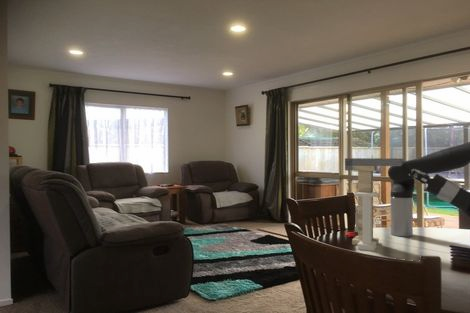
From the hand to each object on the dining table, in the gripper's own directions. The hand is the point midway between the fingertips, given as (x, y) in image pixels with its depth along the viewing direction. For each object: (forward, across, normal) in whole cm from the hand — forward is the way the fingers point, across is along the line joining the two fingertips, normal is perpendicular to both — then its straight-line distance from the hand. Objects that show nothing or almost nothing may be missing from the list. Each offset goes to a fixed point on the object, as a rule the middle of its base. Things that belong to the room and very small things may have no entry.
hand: (401, 166), depth 146 cm
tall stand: (-4, 0, +34) cm, 35 cm away
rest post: (-6, +8, +34) cm, 35 cm away
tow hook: (+2, -14, +38) cm, 41 cm away
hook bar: (+9, 0, +5) cm, 11 cm away
